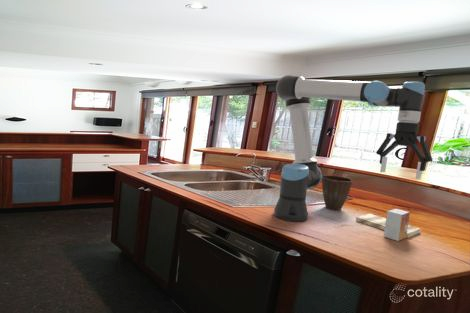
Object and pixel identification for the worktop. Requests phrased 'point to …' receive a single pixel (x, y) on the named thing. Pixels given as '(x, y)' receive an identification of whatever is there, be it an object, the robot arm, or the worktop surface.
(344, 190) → the plant pot
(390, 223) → the small box
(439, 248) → the worktop surface
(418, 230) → the board
